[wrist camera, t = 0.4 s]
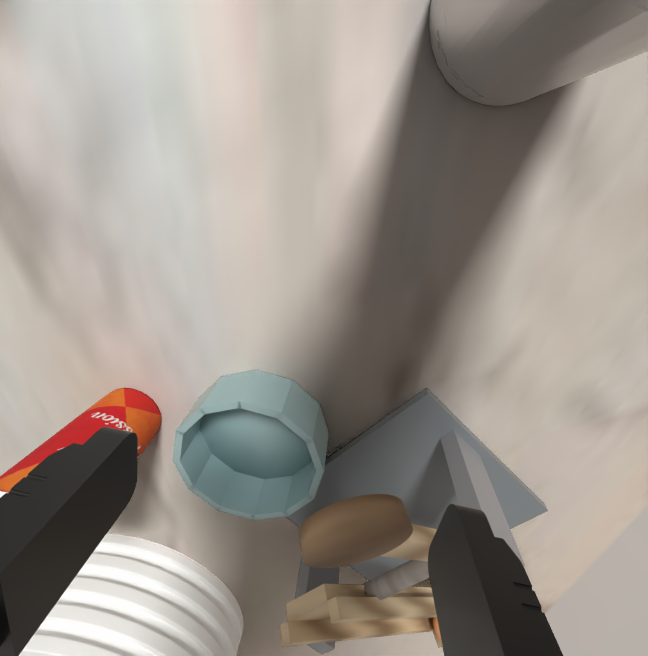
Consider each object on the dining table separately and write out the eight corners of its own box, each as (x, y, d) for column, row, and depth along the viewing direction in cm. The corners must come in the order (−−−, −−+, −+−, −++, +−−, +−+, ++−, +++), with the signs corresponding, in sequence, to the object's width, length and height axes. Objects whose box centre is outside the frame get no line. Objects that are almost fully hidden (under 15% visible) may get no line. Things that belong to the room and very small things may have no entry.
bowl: (253, 345, 30) (235, 374, 26) (354, 434, 33) (353, 473, 29) (172, 423, 34) (146, 458, 30) (267, 496, 37) (255, 537, 33)
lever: (166, 606, 22) (158, 692, 19) (357, 482, 16) (385, 578, 13) (427, 602, 39) (443, 646, 37) (561, 543, 34) (590, 590, 31)
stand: (271, 497, 37) (239, 610, 28) (426, 388, 30) (455, 488, 21) (382, 583, 41) (388, 708, 31) (543, 503, 34) (614, 633, 24)
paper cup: (185, 438, 35) (83, 591, 22) (118, 449, 37) (-13, 599, 24) (150, 369, 32) (10, 501, 19) (78, 384, 34) (-95, 515, 21)
